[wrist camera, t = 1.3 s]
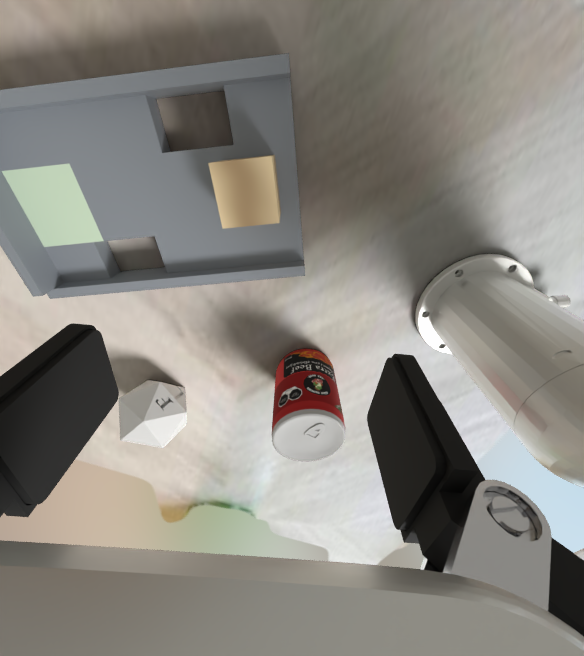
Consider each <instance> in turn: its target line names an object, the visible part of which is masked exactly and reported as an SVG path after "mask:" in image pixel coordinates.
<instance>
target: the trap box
mask: <svg viewBox="0 0 584 656" xmlns="http://www.w3.org/2000/svg"><path fill="white" fill-rule="evenodd" d="M216 91H225V97H226V103H227V109H228V114H229V120H230V126H231V132H232V138H233V144H234V145H228V146H219V147H210V148H202V149H193V150H184V151H175V152H170V148H169V144H168V141H167V137H166V133H165V130H164V126H163V123H162V119H161V115H160V112H159V108H158V104H157V101H156V99H159V98H167V97H176V96H184V95H192V94H200V93H208V92H216ZM268 155H275V162H276V171H277V180H278V189H279V198H280V208H281V215H280V222H279V223H275V224H265V225H255V226H245V227H235V228H224V229H223V228H222V224H221V219H220V214H219V210H218V205H217V201H216V196H215V192H214V187H213V182H212V178H211V173H210V169H209V164H208V163H211V162H217V161H223V160H232V159H241V158H250V157H259V156H268ZM151 236H155V239H156V242H157V245H158V248H159V251H160V254H161V257H162V259H163V262H164V265H165V267H162V268H152V269H141V270H130V271H120V269H119V267H118V265H117V263H116V260H115V258H114V256H113V253H112V251H111V249H110V247H109V244H108V242H107V241H110V240H121V239H131V238H141V237H151ZM0 246H1V247H2V249H3V250H4V252H5V253H6V255H7V257H8V258H9V260H10V261H11V263H12V264H13V266H14V267H15V269H16V271H17V272H18V274H19V275H20V277H21V278H22V280H23V281H24V283H25V285H26V286H27V288H28V289H29V291H30V292H31V294H32V295H33V296H43V295H45V294H46V293H47V295H48V296H49V298H50V299H53V298H64V297H75V296H86V295H97V294H108V293H119V292H130V291H141V290H152V289H163V288H174V287H185V286H196V285H207V284H218V283H229V282H240V281H252V280H263V279H274V278H285V277H296V276H305V267H304V256H303V243H302V230H301V216H300V203H299V189H298V176H297V162H296V149H295V135H294V122H293V109H292V95H291V82H290V64H289V53H286V54H278V55H270V56H262V57H254V58H247V59H239V60H231V61H223V62H215V63H207V64H200V65H192V66H184V67H176V68H168V69H160V70H152V71H145V72H137V73H129V74H121V75H113V76H105V77H97V78H90V79H82V80H74V81H66V82H58V83H50V84H43V85H35V86H27V87H19V88H11V89H3V90H0Z"/></svg>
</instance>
